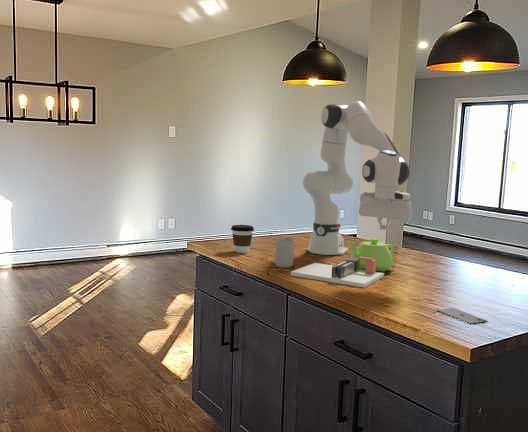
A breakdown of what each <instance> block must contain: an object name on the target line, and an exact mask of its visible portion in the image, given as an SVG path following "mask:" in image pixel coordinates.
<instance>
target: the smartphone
mask: <svg viewBox="0 0 528 432" xmlns="http://www.w3.org/2000/svg"><path fill="white" fill-rule="evenodd" d="M438 311H440V312H442V313H445V314H447V315H450V316H452V317H455V318H457V319H460V320H462V321H465V322H467V323H470V324H469V325H471V324H474V325H477V324H476V323H482V324H486V323H485V322H488V323H489V321H488V320H487V319H484V318H482V317H479V316H476V315H473V314H471V313H468V312H465V311H463V310H460V309H457V308H455V307H448V308H439V309H437V310H436V312H438ZM440 312H439V313H440ZM442 313H441V314H442ZM445 314H444V315H445ZM447 315H446V316H447ZM450 316H449V317H450ZM452 317H451V318H452ZM455 318H454V319H455ZM457 319H456V320H457ZM460 320H459V321H460ZM462 321H461V322H462ZM465 322H464V323H465ZM467 323H466V324H467Z"/></svg>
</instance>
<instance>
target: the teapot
mask: <svg viewBox="0 0 528 432" xmlns="http://www.w3.org/2000/svg"><path fill="white" fill-rule="evenodd" d="M347 242H348V243H349V244H350V257H351V258H358V257H367V258H373V260H376V271H375V272H380V273H386V271H388V270H390V268H391V267H392V266H393V264H394V263H395V260H396V259H395V258H394V254H395V247H394V245H392V244H389V243H387V244H386V243H384V242H379V239H378V238H370V241H362V242H361V243H360V244H359V246H358V247H357V248H356V243H355V242H354V241H351V240H347ZM390 249H391V250H390ZM359 269H360V270H366V260H363V259H360V267H359Z"/></svg>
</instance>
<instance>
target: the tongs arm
mask: <svg viewBox="0 0 528 432" xmlns="http://www.w3.org/2000/svg"><path fill="white" fill-rule="evenodd" d="M347 263H348V261H346V260H343V261H342V262H340V263H338V264H335V265H333V266H332V277H337V267H340V266H342V265H345V264H347Z"/></svg>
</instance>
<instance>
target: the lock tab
mask: <svg viewBox="0 0 528 432" xmlns="http://www.w3.org/2000/svg"><path fill="white" fill-rule="evenodd" d="M358 259H363V260H366V272H365V273H371V274H373V273H375V272H377V271H376V260H373V258H367V257H358Z"/></svg>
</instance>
